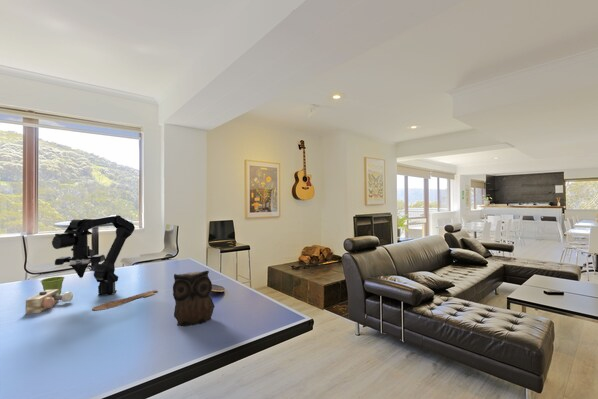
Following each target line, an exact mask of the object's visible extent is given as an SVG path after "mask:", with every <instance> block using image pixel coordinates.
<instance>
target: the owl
mask: <svg viewBox="0 0 598 399" xmlns="http://www.w3.org/2000/svg"><path fill="white" fill-rule="evenodd" d="M173 279H174V283H173V285H172V296H173V299H174V302H175V304H174V312H173V316H174V319H175V320H176V321H177V324H176V326H178V327H185V328H186V327H189V326H195V325H202V324H204V323H205V324H206V323H207V322H209V321H211V320H212V316H213V313H214V309H215V303H214V301H213V298H212V296H211V292H212V291H213V284H212V281H211V279H210V277H209V270H204V271H194V272H186V273H182V274H181V273H180V274H176V273H174V274H173Z"/></svg>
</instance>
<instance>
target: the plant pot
mask: <svg viewBox="0 0 598 399" xmlns="http://www.w3.org/2000/svg"><path fill="white" fill-rule="evenodd" d="M64 279H65V276H54V277H47V278H44V279H41V280H40V281H39V282H40V283H41V285H42V289H43V291H45V290H54V289H59V295H62V288H63V283H64Z"/></svg>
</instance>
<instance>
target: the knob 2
mask: <svg viewBox="0 0 598 399" xmlns="http://www.w3.org/2000/svg"><path fill="white" fill-rule="evenodd" d="M52 297H53V298H54V300H59V301H62V302H63V303H66V302H71V301H72V300H73V298H74V293H73V291H64V292H63V294H61V295H53V296H52Z"/></svg>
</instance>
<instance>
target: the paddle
mask: <svg viewBox="0 0 598 399" xmlns="http://www.w3.org/2000/svg"><path fill="white" fill-rule="evenodd" d="M158 292H159V291H158V290H157V289H155V290H148V291H146V292H142V293H139V294H136V295H131V296H128V297H125V298H121V299H116V300H112V301H108V302H104V303H101V304H98V305H96V306H93V307H92V308H91V311H93V312H99V311H103V310H109V309H112V308H116V307H118V306H119V307H120V306H122V305H124V304H127V303H130V302H132V301H133V302H134V301H136V300H138V299H141V298H144V299H145V298H149V297H152V296H155V295H156V294H157V293H158Z"/></svg>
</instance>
